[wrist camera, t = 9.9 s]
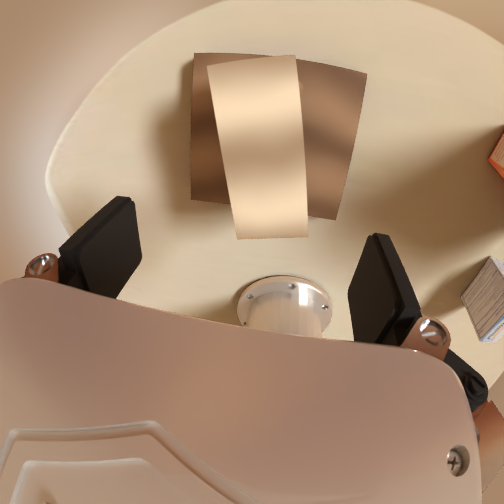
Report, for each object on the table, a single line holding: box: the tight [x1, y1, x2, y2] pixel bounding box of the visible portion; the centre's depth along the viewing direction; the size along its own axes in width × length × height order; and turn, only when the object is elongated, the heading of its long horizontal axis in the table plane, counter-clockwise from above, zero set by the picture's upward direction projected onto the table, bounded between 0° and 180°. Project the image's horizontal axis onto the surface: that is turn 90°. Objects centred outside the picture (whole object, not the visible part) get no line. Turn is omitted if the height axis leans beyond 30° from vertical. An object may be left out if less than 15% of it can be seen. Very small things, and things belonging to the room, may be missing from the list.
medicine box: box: [461, 256, 504, 343], centre depth 26 cm, size 8×4×9 cm, turn 167°
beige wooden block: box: [207, 55, 308, 239], centre depth 18 cm, size 12×5×4 cm, turn 7°
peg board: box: [191, 53, 367, 220], centre depth 22 cm, size 14×14×5 cm
